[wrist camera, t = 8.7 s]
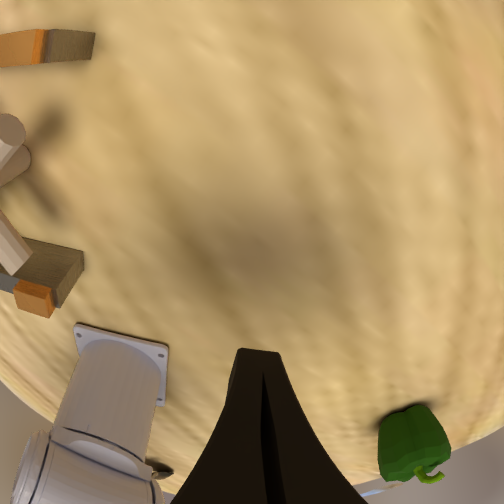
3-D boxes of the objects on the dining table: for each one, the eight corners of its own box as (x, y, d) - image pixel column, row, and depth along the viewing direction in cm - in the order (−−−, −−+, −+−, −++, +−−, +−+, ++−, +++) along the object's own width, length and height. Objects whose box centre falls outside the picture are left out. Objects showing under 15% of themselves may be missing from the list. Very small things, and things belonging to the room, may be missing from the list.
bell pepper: (373, 438, 35) (387, 504, 26) (365, 414, 31) (383, 495, 22) (433, 416, 33) (453, 480, 24) (436, 388, 29) (463, 464, 20)
